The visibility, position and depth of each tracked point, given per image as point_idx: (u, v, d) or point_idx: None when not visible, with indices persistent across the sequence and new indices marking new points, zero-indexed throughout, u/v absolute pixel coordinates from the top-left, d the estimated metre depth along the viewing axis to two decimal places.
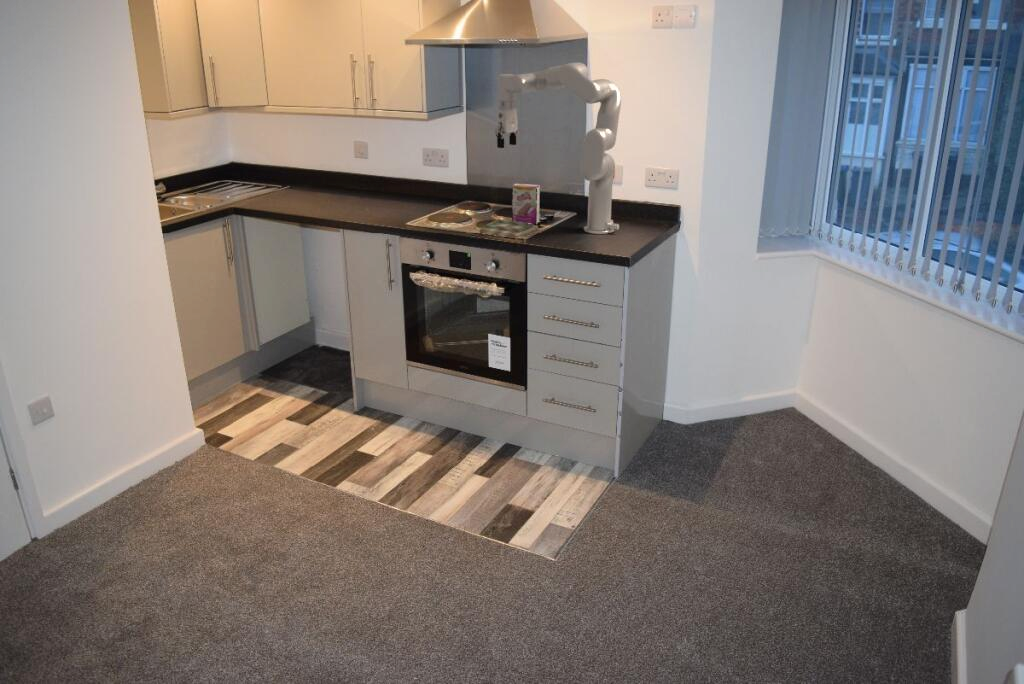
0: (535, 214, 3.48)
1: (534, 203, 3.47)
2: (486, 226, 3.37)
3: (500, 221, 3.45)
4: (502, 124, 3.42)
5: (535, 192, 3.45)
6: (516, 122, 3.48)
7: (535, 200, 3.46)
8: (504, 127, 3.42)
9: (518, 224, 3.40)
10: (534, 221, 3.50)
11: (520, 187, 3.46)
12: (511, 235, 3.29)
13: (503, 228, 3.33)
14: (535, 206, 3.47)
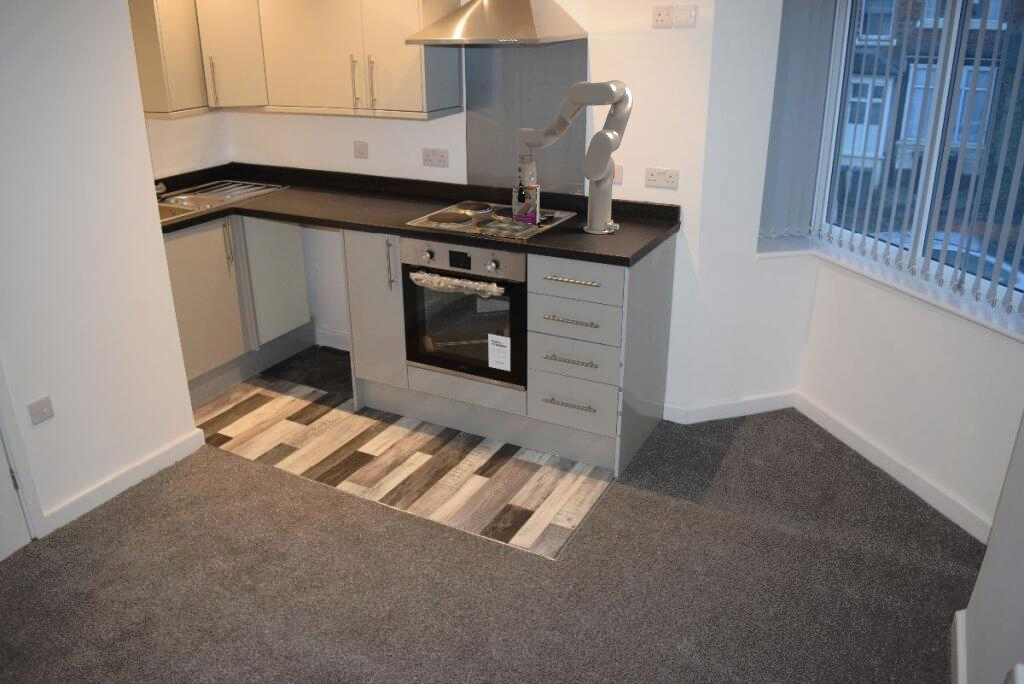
0: (535, 214, 3.48)
1: (534, 203, 3.47)
2: (486, 226, 3.37)
3: (500, 221, 3.45)
4: (521, 178, 3.41)
5: (535, 192, 3.45)
6: (535, 175, 3.47)
7: (535, 200, 3.46)
8: (523, 181, 3.41)
9: (518, 224, 3.40)
10: (534, 221, 3.49)
11: None
12: (511, 235, 3.29)
13: (503, 228, 3.33)
14: (535, 206, 3.47)
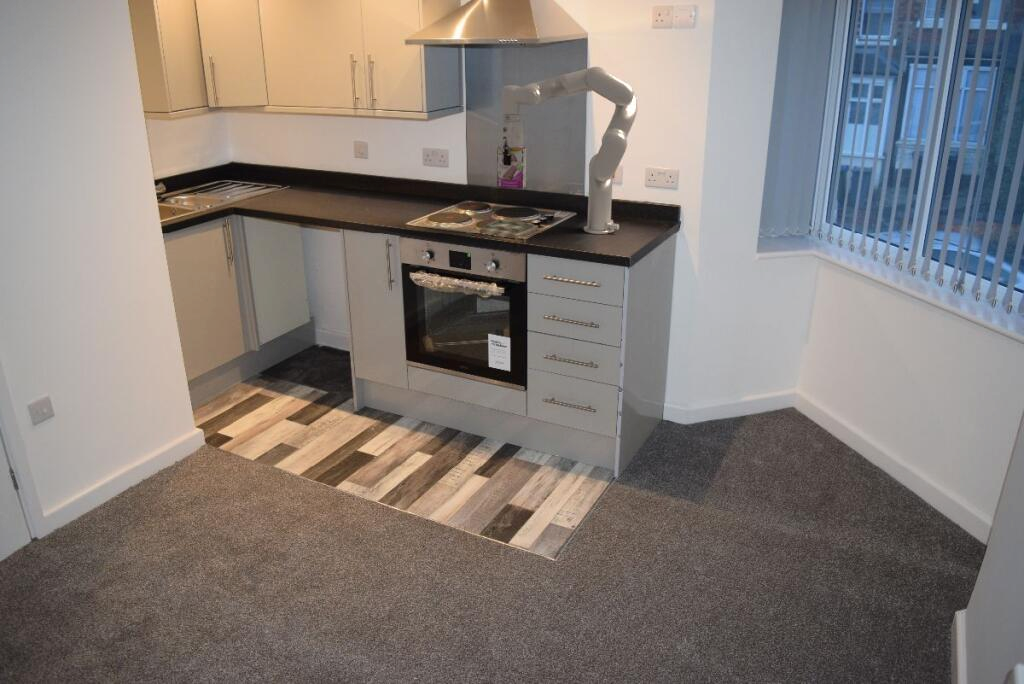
0: (521, 177, 3.30)
1: (520, 166, 3.28)
2: (486, 226, 3.37)
3: (500, 221, 3.45)
4: (506, 139, 3.23)
5: (521, 154, 3.26)
6: (522, 136, 3.29)
7: (521, 162, 3.27)
8: (509, 142, 3.23)
9: (518, 224, 3.40)
10: (521, 185, 3.31)
11: None
12: (511, 235, 3.29)
13: (503, 228, 3.33)
14: (521, 169, 3.28)
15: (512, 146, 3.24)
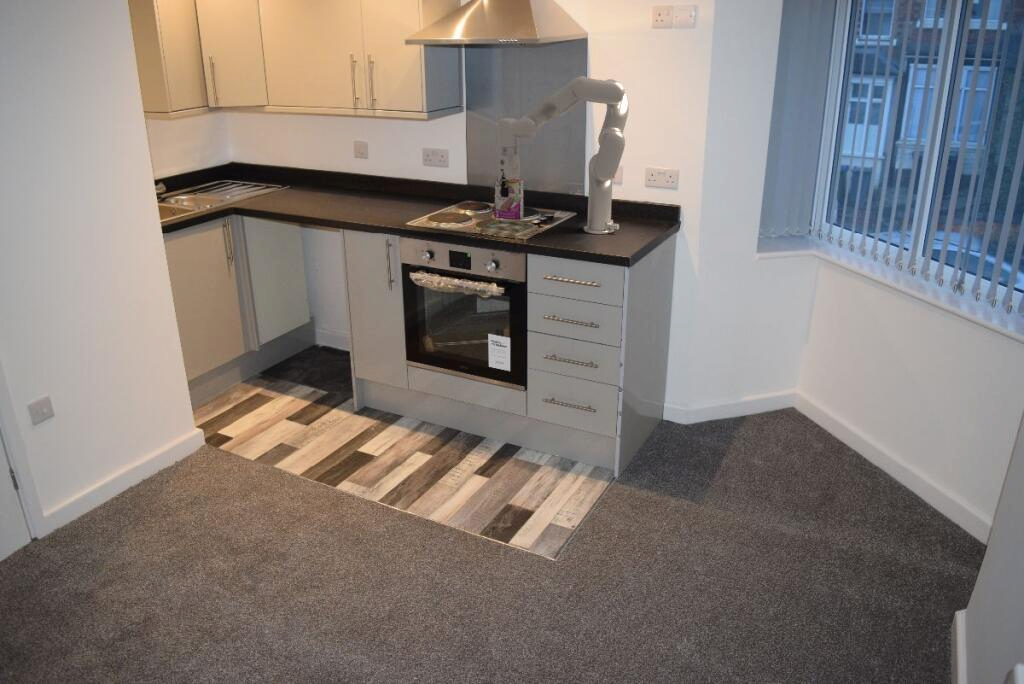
0: (519, 209, 3.32)
1: (517, 197, 3.30)
2: (486, 226, 3.37)
3: (500, 221, 3.45)
4: (504, 171, 3.25)
5: (518, 186, 3.28)
6: (519, 168, 3.31)
7: (518, 194, 3.29)
8: (506, 174, 3.25)
9: (518, 224, 3.40)
10: (518, 216, 3.33)
11: None
12: (511, 235, 3.29)
13: (503, 228, 3.33)
14: (519, 200, 3.30)
15: (509, 178, 3.26)
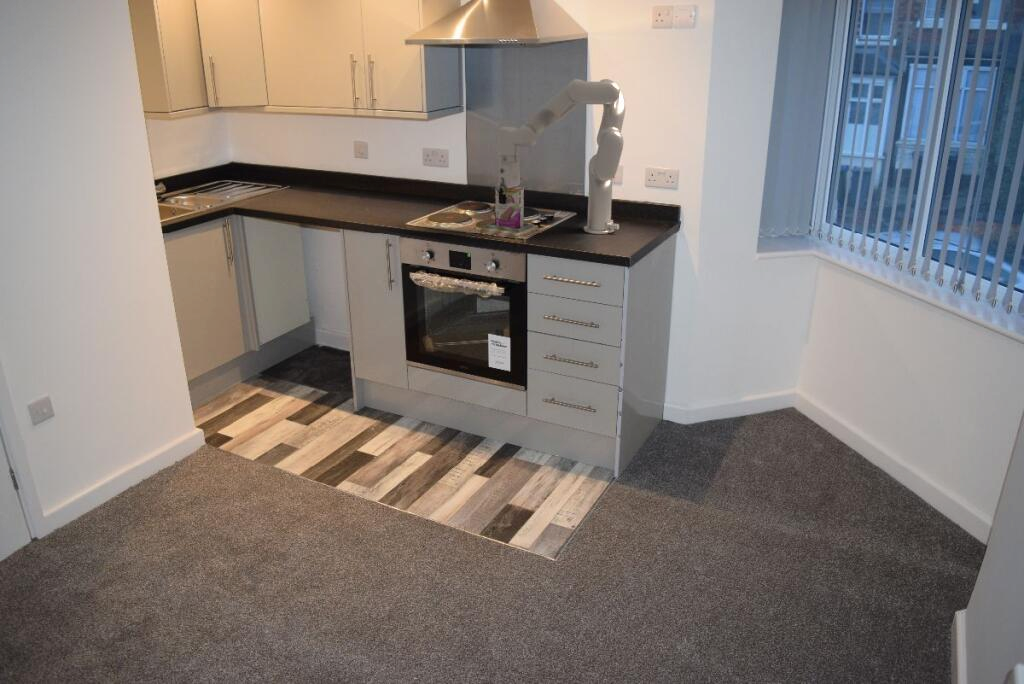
0: (519, 218, 3.33)
1: (518, 207, 3.31)
2: (486, 226, 3.37)
3: None
4: (504, 179, 3.26)
5: (518, 195, 3.29)
6: (518, 176, 3.32)
7: (519, 203, 3.31)
8: (506, 183, 3.26)
9: None
10: (518, 225, 3.34)
11: None
12: (511, 235, 3.29)
13: (503, 228, 3.33)
14: (519, 210, 3.32)
15: (509, 187, 3.27)
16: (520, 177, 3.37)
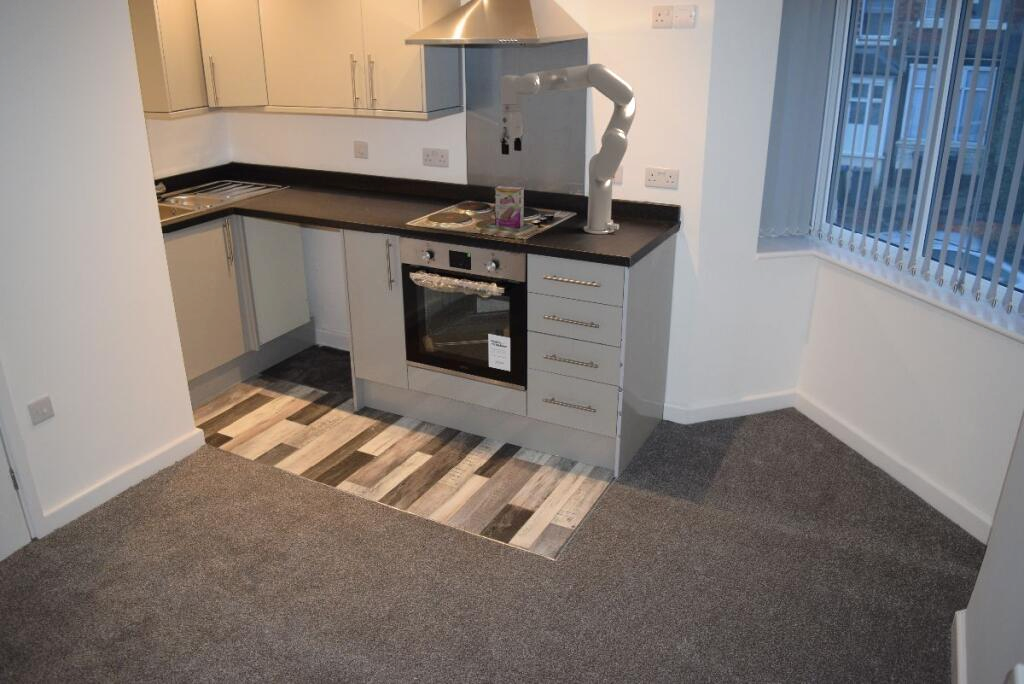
0: (519, 218, 3.33)
1: (518, 207, 3.31)
2: (486, 226, 3.37)
3: None
4: (507, 129, 3.20)
5: (518, 195, 3.29)
6: (521, 127, 3.26)
7: (519, 203, 3.31)
8: (509, 132, 3.20)
9: None
10: (518, 225, 3.34)
11: (503, 190, 3.31)
12: (511, 235, 3.29)
13: (503, 228, 3.33)
14: (519, 210, 3.32)
15: (512, 136, 3.21)
16: None
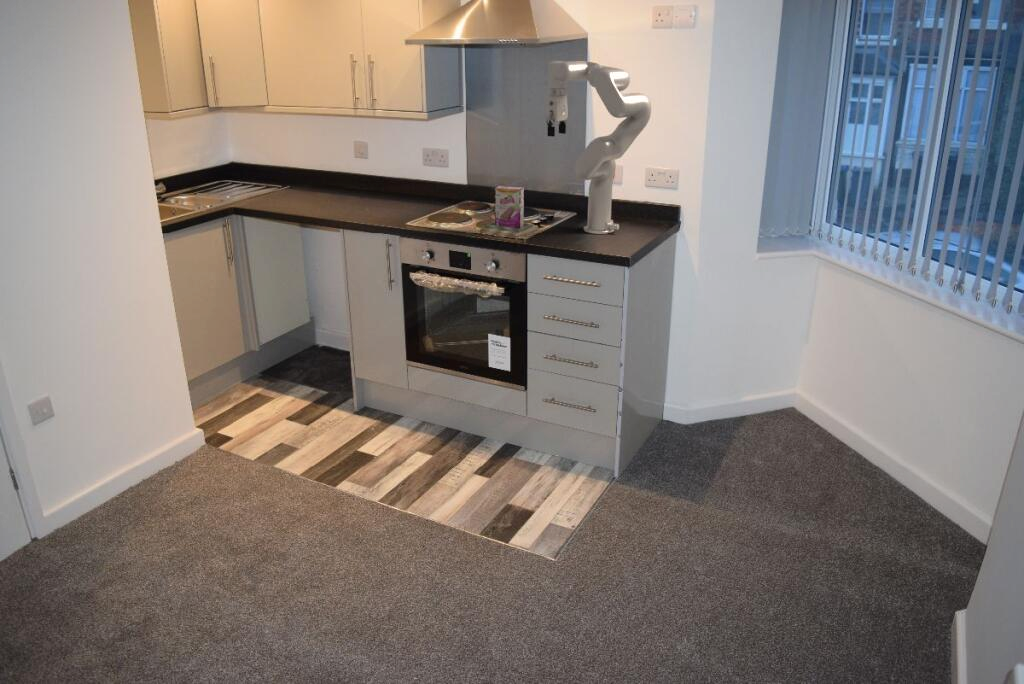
0: (519, 218, 3.33)
1: (518, 207, 3.31)
2: (486, 226, 3.37)
3: None
4: (553, 112, 3.37)
5: (518, 195, 3.29)
6: (566, 110, 3.43)
7: (519, 203, 3.31)
8: (555, 115, 3.37)
9: None
10: (518, 225, 3.34)
11: (503, 190, 3.31)
12: (511, 235, 3.29)
13: (503, 228, 3.33)
14: (519, 210, 3.32)
15: (558, 119, 3.38)
16: None
